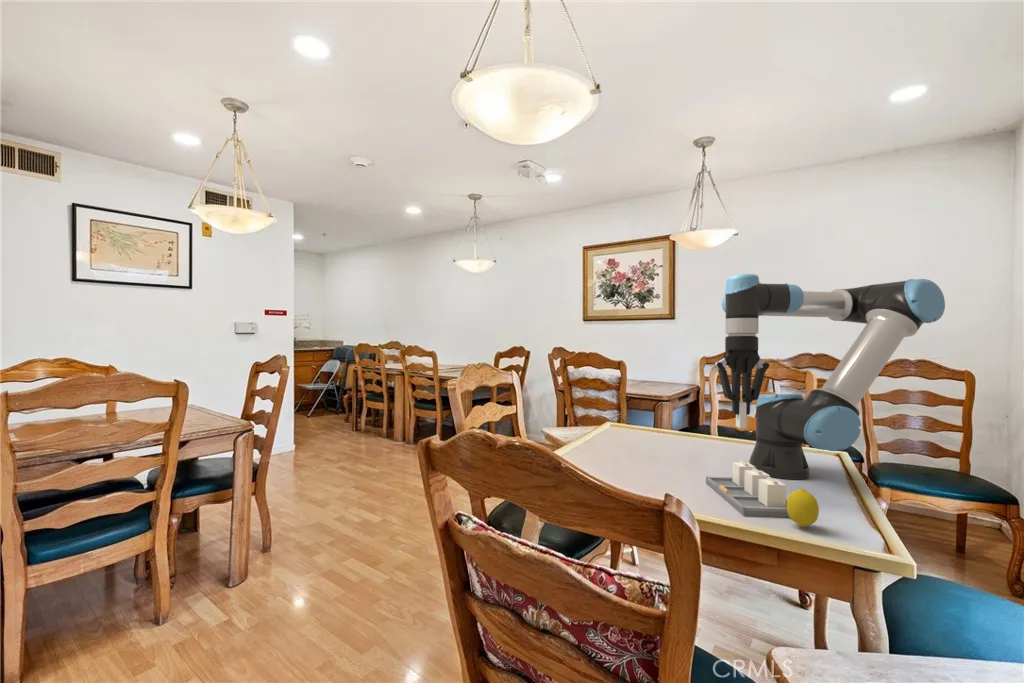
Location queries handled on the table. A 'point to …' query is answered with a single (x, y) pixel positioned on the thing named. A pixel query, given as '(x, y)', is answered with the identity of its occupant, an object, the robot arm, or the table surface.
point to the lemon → (802, 508)
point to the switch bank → (743, 499)
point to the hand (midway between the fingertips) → (740, 427)
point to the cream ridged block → (753, 480)
